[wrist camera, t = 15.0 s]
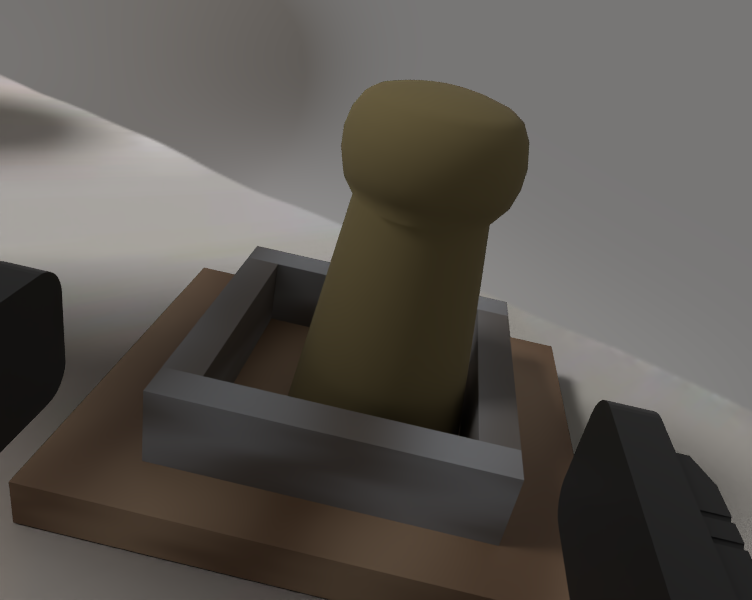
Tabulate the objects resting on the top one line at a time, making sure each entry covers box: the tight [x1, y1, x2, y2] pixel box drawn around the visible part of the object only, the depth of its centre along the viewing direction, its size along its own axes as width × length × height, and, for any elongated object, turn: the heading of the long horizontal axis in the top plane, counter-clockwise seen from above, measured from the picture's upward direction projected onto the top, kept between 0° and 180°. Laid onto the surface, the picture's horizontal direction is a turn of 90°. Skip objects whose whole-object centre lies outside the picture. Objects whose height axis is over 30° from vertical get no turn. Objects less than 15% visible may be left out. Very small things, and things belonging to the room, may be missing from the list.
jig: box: [9, 246, 574, 600], centre depth 23 cm, size 16×14×4 cm
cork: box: [288, 80, 529, 436], centre depth 20 cm, size 6×6×11 cm
